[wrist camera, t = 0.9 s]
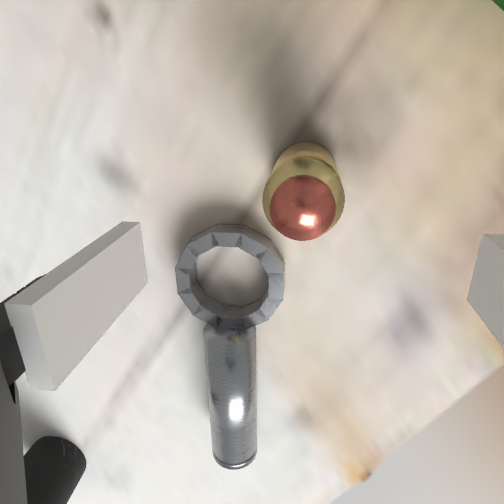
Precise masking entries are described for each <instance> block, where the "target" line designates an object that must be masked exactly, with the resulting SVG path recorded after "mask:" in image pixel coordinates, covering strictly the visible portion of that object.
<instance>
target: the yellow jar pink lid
mask: <svg viewBox="0 0 504 504" xmlns="http://www.w3.org/2000/svg"><path fill="white" fill-rule="evenodd" d="M344 202H345V196H344V190H343V186H342V183H341V180H340V177H339V174H338V171H337V168H336V165H335V162H334V160H333V158H332V156H331V154H330V153H329V152H328V151H327V150H326V149H325V148H323V147H322V146H320V145H318V144H315V143H311V142H301V143H297V144H294V145H292V146H290V147H288V148H287V149H286V150H285V151H283V153H282V154H281V155H280V156H279V158H278V160H277V162H276V164H275V166H274V168H273V170H272V172H271V175H270V177H269V179H268V181H267V183H266V185H265V188H264V192H263V208H264V212H265V215H266V217H267V219H268V221H269V222H270V223H271V225H272V226H273V227H274V228H275V229H276V230H277V231H279V232H280V233H281V234H283V235H284V236H286V237H288V238H290V239H294V240H299V241H306V240H311V239H314V238H317V237H319V236H321V235H322V234H324V233H326V232H327V231H329V230H330V229H331V228H332V227H333V226H334V225H335V224H336V223H337V221H338V220H339V218H340V216H341V214H342V212H343V208H344Z"/></svg>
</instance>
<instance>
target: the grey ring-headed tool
mask: <svg viewBox="0 0 504 504" xmlns="http://www.w3.org/2000/svg"><path fill="white" fill-rule="evenodd" d="M216 246H224V247H239V248H241V249H242V250H244V251H246V252H247V253H249V254H251V255H253V256H254V257H256V258H258V260H259V261H260V263H261V265H262V266H263V268H264V270H265V271H266V273H267V274H268V276H269V288H268V289H267V291H266V292H265V294H264V295H263V297H262V298H261V299H260V300H258V301H256V302H254V303H251V304H249V305H247V306H245V307H239V306H225V305H223V304H221V303H219V302H217V301H216V300H214V299H212V298H210V297H208V296H207V294H206V293H205V291H204V290H203V289H202V287H201V286H200V284H199V283H198V281H197V275H196V261H197V259H198V257H199V255H200V254H202V253H204V252H206V251H208V250H210V249H212V248H214V247H216ZM175 272H176V282H177V292H178V295H179V296H180V297H181V299H182V300H183V302H184V303H185V304H186V306H187V307H188V309H189V310H190V311H191V313H192V314H193V315H194V316H196V317H197V318H199V319H201V320H203V321H205V322H206V323H207V325H206V326H205V328H204V343H205V356H206V369H207V383H208V396H209V410H210V423H211V436H212V450H213V456H214V459H215V460H216V462H217V463H218V464H219V465H221V466H222V467H224V468H227V469H241V468H243V467H246V466H247V465H249V464H250V463H251V462H252V461H253V460H254V458H255V456H256V453H257V400H256V327H255V326H256V325H258V324H260V323H263V322H265V321H267V320H269V318H270V317H271V315H272V314H273V313H274V311H275V310H276V308H277V307H278V306H279V304H280V303H281V301H282V300H283V294H284V276H285V263H284V261H283V259H282V258H281V256H280V254H279V253H278V251H277V249H276V248H275V246H274V244H273V243H272V241H271V240H270V239H269V238H267V237H265V236H263V235H262V234H260V233H258V232H257V231H255V230H253V229H251V228H250V227H248V226H246V225H227V224H216V225H215V226H213V227H211V228H209V229H207V230H205V231H204V232H202V233H200V234H198V235H196V236H194V237H193V238H192V240H191V241H190V242H189V243H188V245H187V246H186V248H185V250H184V252H183V254H182V256H181V258H180V260H179V261H178V263H177V265H176V267H175Z"/></svg>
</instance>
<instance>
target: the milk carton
mask: <svg viewBox="0 0 504 504" xmlns="http://www.w3.org/2000/svg"><path fill="white" fill-rule="evenodd" d="M493 1H494V2H495V3H496V4H497V5H498V6H499V7H500V8H501V9H502V10H503V11H504V0H493Z"/></svg>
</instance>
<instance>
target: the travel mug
mask: <svg viewBox="0 0 504 504" xmlns="http://www.w3.org/2000/svg"><path fill="white" fill-rule="evenodd" d="M24 468H25V480H26V492H27V504H67V502H68V500H69V498H70V497H71V495H72V493H73V491H74V489H75V488H76V486H77V484H78V482H79V480H80V478H81V477H82V475H83V473H84V471H85V468H86V459H85V457H84V455H83V453H82V452H81V451H80V450H79V449H78V448H77V447H76V446H75V445H74V444H72V443H70V442H69V441H67V440H64V439H62V438H58V437H43V438H40V439H39V440H37V441H36V442H35V443H34V444H33V446H32V447H31V448H30V449H29V450H28V451H27V453H26V454H25V455H24Z"/></svg>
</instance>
